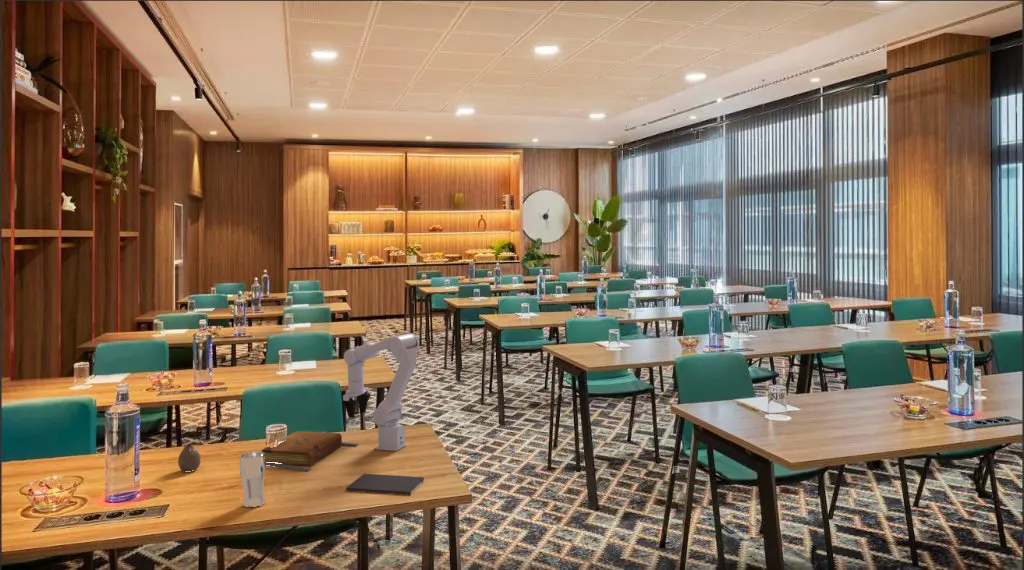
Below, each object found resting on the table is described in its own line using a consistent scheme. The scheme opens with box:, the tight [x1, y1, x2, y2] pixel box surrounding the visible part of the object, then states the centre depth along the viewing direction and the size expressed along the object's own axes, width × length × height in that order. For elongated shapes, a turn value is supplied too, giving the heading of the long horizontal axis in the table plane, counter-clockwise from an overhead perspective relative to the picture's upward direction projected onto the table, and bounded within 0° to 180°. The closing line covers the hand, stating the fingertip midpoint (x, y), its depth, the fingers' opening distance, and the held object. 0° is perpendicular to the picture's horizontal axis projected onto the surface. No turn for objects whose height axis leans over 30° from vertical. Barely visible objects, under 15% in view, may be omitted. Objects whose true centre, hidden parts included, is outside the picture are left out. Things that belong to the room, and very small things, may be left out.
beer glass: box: [239, 450, 266, 507], centre depth 204 cm, size 7×7×15 cm
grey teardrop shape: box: [177, 444, 201, 472], centre depth 236 cm, size 7×7×9 cm
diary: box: [261, 430, 343, 468], centre depth 250 cm, size 23×19×6 cm
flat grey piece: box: [264, 441, 359, 472], centre depth 251 cm, size 27×30×1 cm
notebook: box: [345, 473, 425, 496], centre depth 217 cm, size 13×2×21 cm
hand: (357, 415), depth 264 cm, fingers open, 7 cm apart
